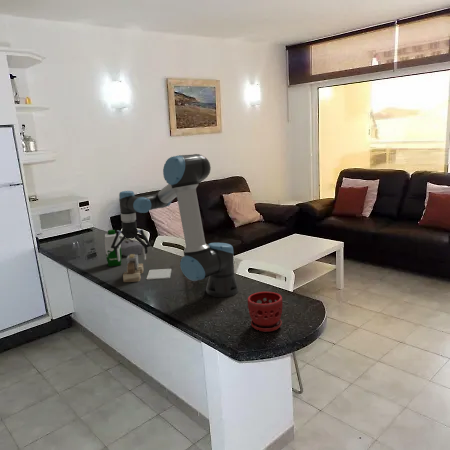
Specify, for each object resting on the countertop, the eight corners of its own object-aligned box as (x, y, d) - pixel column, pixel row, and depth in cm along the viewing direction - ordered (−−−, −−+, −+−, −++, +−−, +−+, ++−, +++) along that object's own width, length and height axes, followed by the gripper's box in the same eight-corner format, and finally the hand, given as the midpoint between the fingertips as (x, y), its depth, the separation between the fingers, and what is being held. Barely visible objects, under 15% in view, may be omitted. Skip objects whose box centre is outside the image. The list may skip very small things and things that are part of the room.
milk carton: (122, 261, 244) (119, 228, 240) (122, 265, 236) (119, 232, 231) (107, 262, 242) (103, 230, 238) (107, 267, 233) (103, 233, 229)
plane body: (139, 281, 209) (137, 264, 207) (123, 282, 209) (122, 265, 207) (143, 270, 226) (142, 254, 224) (128, 271, 225) (127, 255, 223)
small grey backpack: (146, 254, 258) (135, 247, 274) (145, 241, 256) (134, 235, 272) (123, 258, 250) (113, 251, 266) (121, 245, 248) (111, 239, 265)
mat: (169, 278, 212) (169, 277, 212) (146, 279, 211) (146, 278, 211) (171, 269, 225) (171, 268, 225) (149, 270, 225) (149, 269, 224)
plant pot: (281, 318, 162) (280, 290, 159) (284, 334, 149) (284, 303, 146) (248, 318, 162) (247, 290, 160) (248, 334, 150) (247, 304, 147)
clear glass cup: (137, 270, 214) (136, 256, 212) (127, 271, 213) (126, 256, 212) (138, 266, 219) (137, 253, 218) (129, 267, 219) (128, 253, 217)
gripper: (153, 218, 215) (156, 256, 220) (105, 220, 214) (109, 259, 218) (152, 221, 208) (155, 261, 213) (102, 223, 206) (106, 263, 211)
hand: (132, 260), depth 216 cm, fingers open, 13 cm apart
